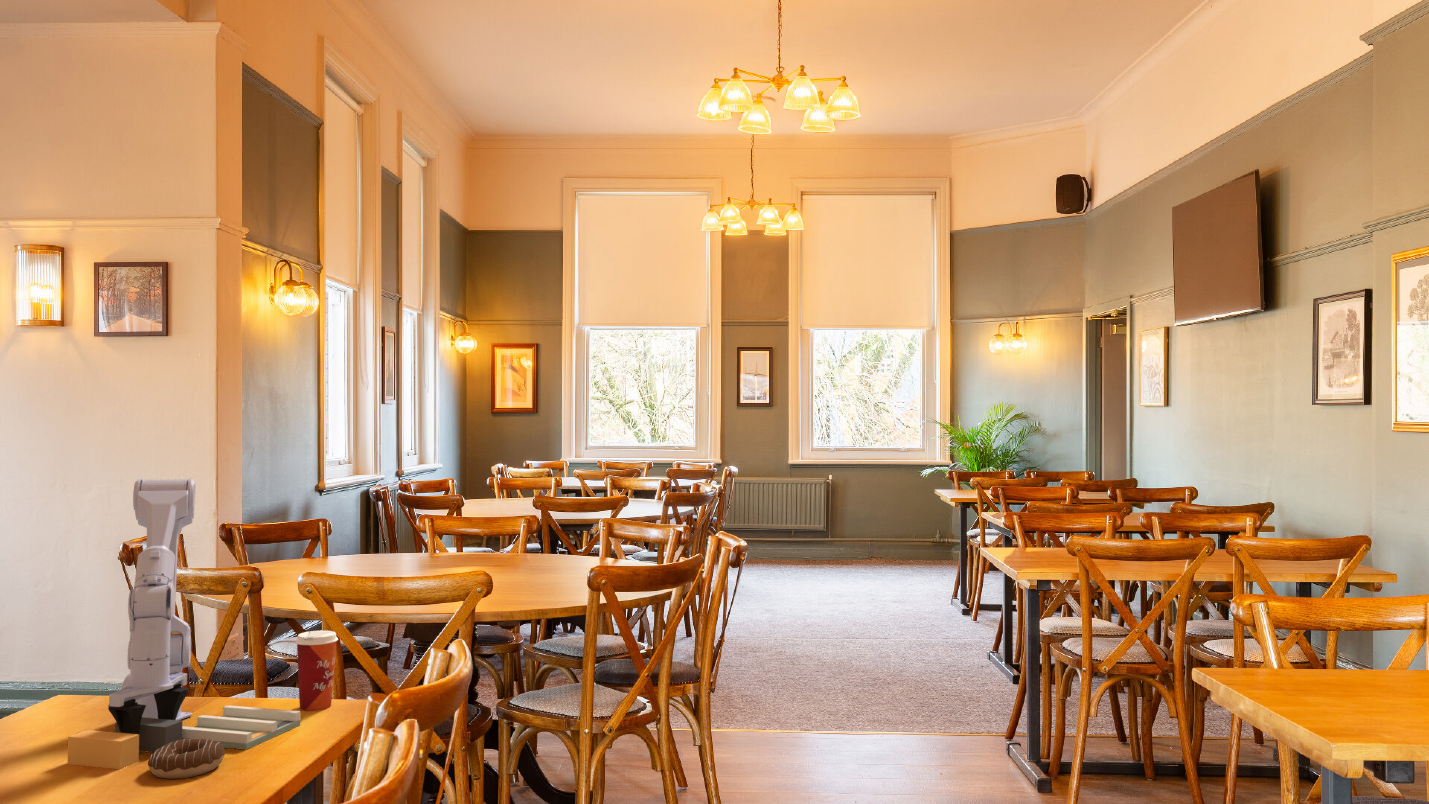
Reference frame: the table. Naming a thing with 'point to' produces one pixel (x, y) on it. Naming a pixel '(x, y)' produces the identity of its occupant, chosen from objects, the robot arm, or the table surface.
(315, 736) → the table surface
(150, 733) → the dark grey block
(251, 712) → the comb board
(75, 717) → the table surface
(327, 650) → the paper cup
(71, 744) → the wooden block
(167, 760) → the donut
